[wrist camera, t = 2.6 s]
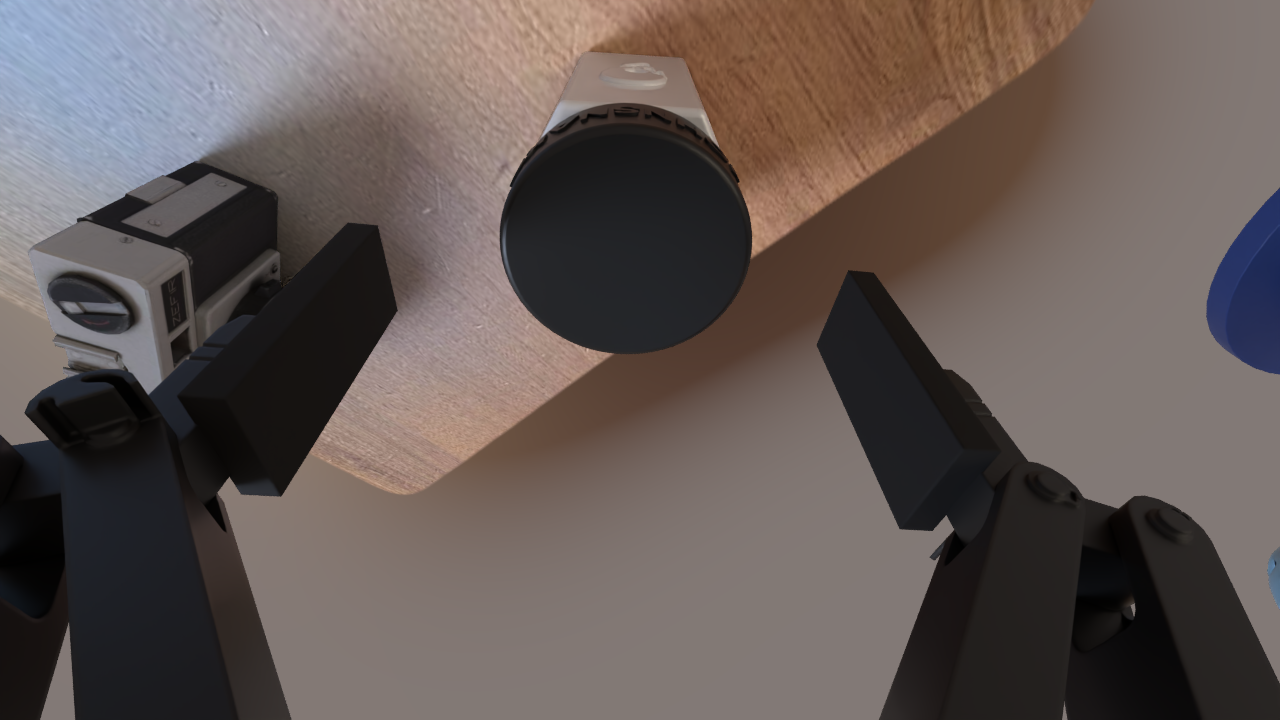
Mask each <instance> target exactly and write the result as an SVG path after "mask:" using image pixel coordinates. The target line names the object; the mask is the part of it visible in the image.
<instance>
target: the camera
mask: <svg viewBox="0 0 1280 720" xmlns="http://www.w3.org/2000/svg"><path fill="white" fill-rule="evenodd" d="M277 201H278V197H277V195H276V193H274V192H273V191H271V190H270V189H267V188H264V187H262V186H259V185H257V184H254V183H252V182H249V181H247V180H244V179H242V178H240V177H237V176H234V175H232V174H229V173H227V172H224V171H222V170H219V169H217V168H214V167H211V166H209V165H206V164H204V163H201V162H199V161H195V162H193V163H191V164H189V165H187V166H185V167H183V168H181V169H179V170H177V171H175V172H173V173H170V174H168V175H166V176H164V175H162V176H160V177H158V178H156V179H154V180H152V181H150V182H148V183H146V184H144V185H142V186H140V187H138V188H136V189H134V190H132V191H130V192H128V193H126V195H125V197H123V198H121V199H119V200H117V201H115V202H113V203H111V204H109V205H107V206H105V207H103V208H101V209H99V210H97V211H95V212H93V213H91V214H89V215H87V216H85V217H83V218H78V219H77V222H78V223H76V224H74V225H72V226H70V227H68V228H67V229H65V230H63V231H61V232H59V233H57V234H55V235H53V236H51V237H49V238H47V239H45V240H43V241H42V242H40V243H38V244H36V245H34V246H33V247H32V248H30V249H29V250H28V255H29V258H30V261H31V264H32V267H33V270H34V274H35V277H36V280H37V283H38V286H39V289H40V293H41V296H42V299H43V302H44V305H45V308H46V312H47V315H48V318H49V321H50V324H51V327H52V330H53V331H54V332H55V333H56V334H57V335H56V336H55V338H54V339H53V342H54V343H55V346H58V347H62V348H65V350H66V353H67V356H68V360H69V361H68V366H69V367H70V368H66V367H63V373H64V374H66V375H68V377H67V378H69V377H71V376H74V375H77V374H80V373H84V372H89V371H95V370H100V369H121V370H124V371H127V372H130V373H133V375H134V376H135V377H136V379H137V380H138V381H139V383H140V384H141V385H142V387H143V388H144V390H145V391H146V393H147V394H148V395H149V394H150V393H151V392H152V391H153V390H154V389H155V388H156V387H157V386H158V385H159V384H160V383H161V382H162V381H163V380H164V379H165V378H166V377H168V376H169V375H170V374H171V373H172V372H173V371H174V370H175V369H176V368H177V367H178V366H179V365H180V364H181V363H182V362H183V361H184V360H185V359H187V360H189V356H190V355H191V354H192V353H193V352H194V351H195V350H196V349H197V348H198V347H199V346H203V342H204V341H205V340H207V339H208V338H209V337H210V336H211V335H212V334H213V333H214V332H215V331H216V330H217V329H218V328H219V327H221V326H223V325H225V324H227V323H229V322H230V321H232V320H234V319H236V318H238V317H240V316H242V315H254V316H256V315H257V314H258V313H259V312H260V311H261V310H262V309H263V308H264V307H265V306H266V305H267V304H268V303H269V302H270V301H271V300H272V299H273V298H274V297H275V296H276V295H277V294H278V293H279V292H280V291H281V290H282V289H283V288H282V287H281V283H280V253H279V252H277V251H276V248H277Z"/></svg>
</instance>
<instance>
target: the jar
mask: <svg viewBox="0 0 1280 720" xmlns="http://www.w3.org/2000/svg"><path fill="white" fill-rule="evenodd" d="M739 182H740V181H739V179H738V177H737V174H736V172H735V170H734V168H733V167H732V165H731V164H729V163H728V160H727V158H726V157H725V155H724V154H723V152H722V151H721V150H720V147H719V145H718V142H717V140H716V137H715V134H714V132H713V129H712V127H711V124H710V121H709V119H708V116H707V114H706V111H705V109H704V106H703V104H702V101H701V99H700V96H699V94H698V91H697V89H696V86H695V84H694V81H693V79H692V76H691V74H690V71H689V69H688V67H687V64H686V62H685V60H684V59H683V58H677V57H662V56H648V55H633V54H618V53H604V52H590V51H586V52H584V53H582V55H581V57H580V59H579V61H578V63H577V65H576V67H575V69H574V71H573V72H572V74H571V76H570V78H569V80H568V82H567V84H566V86H565V88H564V90H563V92H562V94H561V96H560V98H559V100H558V102H557V104H556V106H555V108H554V110H553V112H552V114H551V116H550V118H549V120H548V122H547V124H546V126H545V128H544V130H543V131H542V133H541V135H540V137H539V139H538V142H537V144H536V145H535V146H534V147H533V148H532V149H531V150H530V151H529V152H528V154H527V157H526V158H524V159H523V161H522V163H521V164H520V166H519V168H518V170H517V172H516V174H515V176H514V178H513V180H512V182H511V184H510V187H512V188H511V190H510V192H509V194H508V197H507V199H506V202H505V205H504V209H503V212H502V217H501V224H500V250H501V256H502V261H503V265H504V268H505V272H506V274H507V277H508V279H509V282H510V284H511V286H512V288H513V290H514V291H515V293H516V295H517V296H518V298H519V299H520V301H521V302H522V303H523V305H524V306H525V307H526V308H527V310H528V311H529V312H530V313H531V314H532V315H533V316H534V317H535V318H536V319H537V320H538V321H540V322H541V323H542V324H543V325H544V326H546V327H547V328H548V329H550V330H551V331H552V332H554V333H556V334H557V335H559V336H561V337H562V338H564V339H566V340H568V341H570V342H573V343H575V344H577V345H580V346H583V347H586V348H589V349H593V350H597V351H601V352H607V353H616V354H640V353H648V352H654V351H658V350H663V349H666V348H669V347H672V346H675V345H677V344H680V343H682V342H684V341H686V340H688V339H691V338H692V337H694V336H696V335H697V334H699V333H701V332H702V331H703V330H705V329H706V328H707V327H709V326H710V325H711V324H713V323H714V322H715V321H716V320H717V319H718V318H719V317H720V316H721V315H722V314H723V313H724V312H725V311H726V309H727V308H728V307H729V305H730V304H731V303H732V301H733V300H734V299H735V297H736V296H737V294H738V292H739V290H740V288H741V286H742V284H743V282H744V279H745V277H746V274H747V271H748V267H749V263H750V258H751V250H752V229H751V222H750V216H749V212H748V209H747V206H746V203H745V200H744V198H743V195H742V193H741V190H740V188H739V186H738V183H739Z"/></svg>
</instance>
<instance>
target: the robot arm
mask: <svg viewBox="0 0 1280 720" xmlns="http://www.w3.org/2000/svg"><path fill="white" fill-rule="evenodd" d="M397 311H398V310H397V306H396V301H395V297H394V293H393V289H392V284H391V280H390V276H389V271H388V267H387V263H386V259H385V254H384V250H383V246H382V242H381V237H380V233H379V229H378V225H367V224H357V223H347V224H346V225H345V226H344V227H343V228H342V229H341V230H340V231H339V232H338V233H337V234H336V235H335V236H334V237H333V238H332V239H331V240H330V241H329V242H328V243H327V244H326V245H325V246H324V247H323V248H322V249H321V250H320V251H319V252H318V253H317V254H316V255H315V257H314V258H313V259H312V260H311V261H310V262H309V263H308V264H307V265H306V266H305V267H304V268H303V269H302V270H301V271H300V272H299V273H298V274H297V275H296V276H295V277H294V278H293V279H292V280H291V281H290V282H289V283H288V284H287V285H286V286H285V287H284V288H283V289H282V290H281V291H280V292H279V293H278V294H277V295H276V296H275V297H274V298H273V299H272V300H271V301H270V302H269V303H268V304H267V305H266V306H265V307H264V308H263V309H262V310H261V311H260V312H259V313H258V314H257V315H256V316H254V315H242V316H240V317H238V318H236V319H234V320H232V321H230V322H229V323H227V324H225V325H223V326H221V327H219V328H218V329H217V330H216V331H215V332H214V333H213V334H212V335H211V336H210V337H209V338H208V339H207V340H205V341H204V342H203V346H199V347H198V348H197V349H196V350H195V351H194V352H193V353H192V354H191V355H190V356H189V360H187V359H185V360H184V361H183V362H182V363H181V364H180V365H179V366H178V367H177V368H176V369H175V370H174V371H173V372H172V373H171V374H170V375H169V376H168V377H166V378H165V379H164V380H163V381H162V382H161V383H160V384H159V385H158V386H157V387H156V388H155V389H154V390H153V391H152V392H151V393H150V394H149V395H148V394H147V393H146V391H145V390H144V388H143V387H142V385H141V384H140V383H139V381H138V380H137V379H136V377H135V376H134V375H133V373H130V372H127V371H124V370H121V369H100V370H95V371H89V372H84V373H80V374H77V375H74V376H71V377H69V378H66V379H63V380H60V381H58V382H57V383H55V384H53V385H51V386H49V387H48V388H46V389H44V390H42V391H41V392H40V393H39V394H38V395H37V396H35V397H34V398H33V399H32V400H31V401H30V402H29V404H28V406H27V408H26V411H25V414H26V416H27V417H28V418H29V419H30V420H31V421H32V422H33V423H34V424H35V425H36V426H37V427H38V428H39V429H40V430H41V431H42V432H43V433H44V434H45V435H46V437H48V439H49V440H46V441H39V442H32V443H26V444H19V445H13V446H11V445H10V444H9V443H8V442H7V441H6V440H5V439H4V438H3V437H2V436H1V435H0V720H40V718H41V714H42V711H43V708H44V704H45V701H46V698H47V694H48V691H49V687H50V684H51V681H52V677H53V674H54V670H55V667H56V664H57V660H58V657H59V653H60V650H61V647H62V643H63V640H64V636H65V633H66V629H67V626H68V623H69V626H70V642H71V659H72V674H73V690H74V706H75V720H291V717H290V713H289V710H288V707H287V704H286V701H285V697H284V694H283V691H282V688H281V684H280V681H279V678H278V675H277V672H276V669H275V665H274V662H273V659H272V655H271V652H270V649H269V646H268V643H267V640H266V636H265V633H264V630H263V627H262V623H261V620H260V617H259V614H258V611H257V607H256V604H255V601H254V598H253V594H252V591H251V588H250V585H249V581H248V578H247V575H246V572H245V569H244V566H243V562H242V559H241V556H240V553H239V550H238V546H237V543H236V540H235V536H234V533H233V530H232V527H231V524H230V520H229V517H228V514H227V511H226V508H225V504H224V502H223V500H222V499H221V498H220V496H219V495H218V493H217V492H218V491H219V490H220V488H221V487H222V486H223V484H224V483H225V482H226V480H227V479H228V478H229V477H230V478H231V480H232V481H233V482H234V484H235V485H236V487H237V489H238V490H239V492H240V493H241V494H243V495H261V496H280V497H281V496H282V495H283V493H284V491H285V490H286V488H287V487H288V485H289V483H290V482H291V480H292V478H293V477H294V475H295V474H296V472H297V471H298V469H299V467H300V466H301V464H302V463H303V461H304V459H305V458H306V456H307V455H308V453H309V451H310V450H311V448H312V447H313V445H314V443H315V442H316V440H317V439H318V437H319V435H320V434H321V432H322V431H323V429H324V427H325V426H326V424H327V423H328V421H329V419H330V418H331V416H332V415H333V413H334V411H335V410H336V408H337V407H338V405H339V403H340V402H341V400H342V399H343V397H344V395H345V394H346V392H347V391H348V389H349V387H350V386H351V384H352V383H353V381H354V379H355V378H356V376H357V375H358V373H359V371H360V370H361V368H362V367H363V365H364V363H365V362H366V360H367V359H368V357H369V355H370V354H371V352H372V351H373V349H374V347H375V346H376V344H377V343H378V341H379V339H380V338H381V336H382V335H383V333H384V331H385V330H386V328H387V327H388V325H389V323H390V322H391V320H392V319H393V317H394V315H395V314H396V312H397ZM817 347H818V349H819V351H820V354H821V356H822V358H823V360H824V363H825V365H826V367H827V369H828V371H829V374H830V376H831V378H832V380H833V382H834V384H835V387H836V389H837V391H838V393H839V396H840V398H841V400H842V402H843V405H844V407H845V409H846V411H847V413H848V416H849V418H850V420H851V422H852V425H853V427H854V429H855V431H856V433H857V436H858V438H859V440H860V442H861V444H862V447H863V449H864V451H865V453H866V456H867V458H868V460H869V462H870V464H871V467H872V469H873V471H874V473H875V475H876V477H877V480H878V482H879V484H880V487H881V489H882V491H883V493H884V495H885V498H886V500H887V502H888V504H889V507H890V509H891V511H892V513H893V515H894V518H895V520H896V522H897V524H898V526H899V529H906V530H924V531H933V530H934V528H935V527H936V526H937V525H938V524H939V523H940V521H941V520H942V519H943V518H944V517H945V516H946V515H947V517H948V519H949V521H950V522H951V524H952V526H953V528H954V531H953V532H952V533H951V534H950V535H949V536H948V537H947V538H946V540H945V541H944V542H943V543H942V544H941V545H940V546H939V547H938V548H937V549H936V550H935V552H934V553H933V554H932V555H931V556H930V558H931V559H933V560H936V558H937V557H938V556H939V555H940V557H939V560H938V563H937V565H936V568H935V571H934V573H933V576H932V579H931V582H930V584H929V587H928V590H927V593H926V595H925V598H924V600H923V603H922V606H921V608H920V611H919V614H918V616H917V619H916V622H915V624H914V627H913V630H912V633H911V635H910V638H909V641H908V643H907V646H906V649H905V651H904V654H903V657H902V659H901V662H900V665H899V667H898V671H897V673H896V675H895V678H894V681H893V684H892V686H891V689H890V692H889V694H888V697H887V700H886V703H885V705H884V708H883V710H882V713H881V716H880V718H879V720H1062V716H1063V707H1064V701H1065V707H1066V713H1067V719H1068V720H1280V683H1279V681H1278V679H1277V677H1276V675H1275V673H1274V671H1273V669H1272V667H1271V664H1270V662H1269V660H1268V658H1267V656H1266V654H1265V652H1264V650H1263V648H1262V646H1261V644H1260V641H1259V639H1258V637H1257V635H1256V633H1255V631H1254V629H1253V627H1252V625H1251V623H1250V621H1249V619H1248V617H1247V614H1246V612H1245V610H1244V608H1243V606H1242V604H1241V602H1240V600H1239V598H1238V596H1237V593H1236V591H1235V589H1234V588H1233V585H1232V583H1231V581H1230V579H1229V577H1228V575H1227V573H1226V570H1225V568H1224V566H1223V564H1222V562H1221V560H1220V558H1219V556H1218V554H1217V552H1216V549H1215V547H1214V545H1213V543H1212V541H1211V540H1210V538H1209V537H1208V535H1207V534H1206V533H1205V531H1204V530H1203V529H1202V528H1201V527H1200V526H1199V525H1198V524H1197V523H1196V522H1195V521H1194V520H1192V518H1191V517H1190V516H1188V515H1187V514H1186V513H1184V512H1182V511H1181V510H1180V509H1178V508H1176V507H1174V506H1172V505H1170V504H1168V503H1165V502H1163V501H1161V500H1159V499H1155V498H1152V497H1148V496H1134V497H1133V498H1131V499H1130V500H1129V501H1128V502H1126V503H1125V504H1124V505H1123V506H1121V507H1120V508H1119V509H1117V508H1114V507H1111V506H1107V505H1104V504H1101V503H1098V502H1095V501H1092V500H1088V499H1085V498H1084V497H1083V496H1082V494H1081V493H1080V492H1079V490H1078V489H1077V487H1076V486H1075V485H1073V484H1072V483H1071V482H1070V481H1069V480H1068V479H1067V478H1066V477H1064V476H1063V475H1061V474H1059V473H1058V472H1056V471H1054V470H1053V469H1051V468H1049V467H1046V466H1044V465H1041V464H1039V463H1034V462H1028V461H1027V459H1026V458H1025V457H1024V455H1023V454H1022V453H1021V451H1020V450H1019V449H1018V447H1017V446H1016V445H1015V443H1014V442H1013V441H1012V439H1011V438H1010V437H1009V435H1008V434H1007V433H1006V432H1005V430H1004V429H1003V427H1002V426H1001V425H1000V423H999V422H998V421H997V419H996V418H995V417H992V413H991V412H990V410H989V409H988V408H987V407H986V405H985V404H983V403H982V400H981V398H980V397H979V396H978V394H977V393H976V392H975V390H974V389H973V388H972V386H971V385H970V384H969V383H968V382H966V381H965V380H964V379H962V378H961V377H960V376H959V375H958V374H956V373H955V372H954V371H953V370H946V369H942V367H941V366H940V364H939V363H938V362H937V360H936V359H935V357H934V356H933V355H932V353H931V352H930V351H929V349H928V348H927V346H926V345H925V343H924V342H923V341H922V339H921V338H920V337H919V335H918V334H917V332H916V331H915V330H914V328H913V327H912V325H911V324H910V323H909V321H908V320H907V318H906V317H905V316H904V314H903V313H902V312H901V310H900V309H899V307H898V306H897V304H896V303H895V302H894V300H893V299H892V298H891V296H890V295H889V293H888V292H887V291H886V289H885V288H884V286H883V285H882V284H881V282H880V281H879V280H878V278H877V277H876V275H875V274H874V273H871V272H860V271H849V270H848V272H847V275H846V277H845V279H844V282H843V284H842V286H841V289H840V291H839V294H838V296H837V298H836V301H835V303H834V305H833V308H832V310H831V312H830V315H829V317H828V319H827V322H826V324H825V326H824V329H823V331H822V334H821V336H820V338H819V341H818V343H817ZM1267 571H1268V575H1269V586H1270V589H1271V592H1272V594H1273V597H1274V599H1275V601H1276V603H1277V605H1278V607H1279V609H1280V547H1279V548H1278V549H1277V550H1276V551H1274V553H1273V554H1272V555H1271V557H1270V559H1269V562H1268V570H1267ZM1134 603H1135V609H1136V610H1135V616H1133V612H1132V609H1131V606H1130V605H1132V604H1134Z"/></svg>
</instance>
